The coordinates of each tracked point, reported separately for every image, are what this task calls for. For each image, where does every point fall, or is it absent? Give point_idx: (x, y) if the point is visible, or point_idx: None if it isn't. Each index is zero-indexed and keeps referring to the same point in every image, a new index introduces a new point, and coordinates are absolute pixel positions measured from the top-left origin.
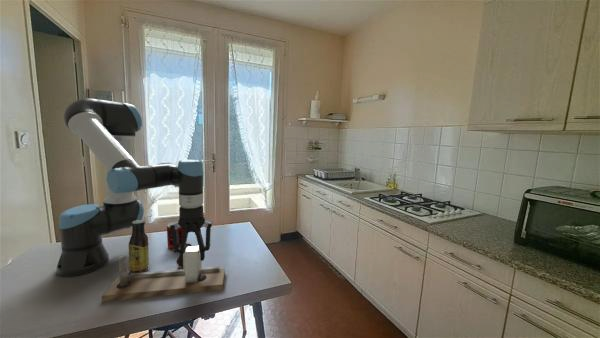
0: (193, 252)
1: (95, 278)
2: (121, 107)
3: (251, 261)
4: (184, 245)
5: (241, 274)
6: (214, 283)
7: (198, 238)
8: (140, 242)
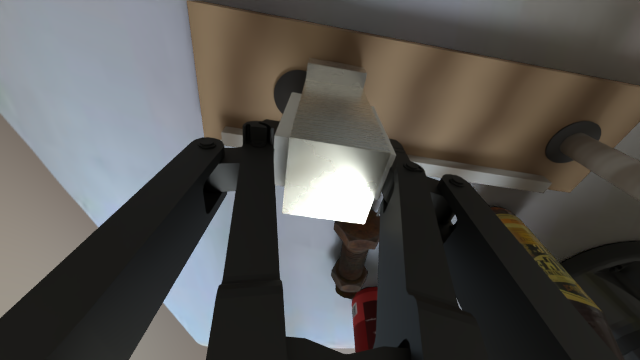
0: (322, 137)
1: (599, 218)
2: None
3: (125, 176)
4: (401, 201)
5: (141, 101)
6: (229, 25)
7: (256, 234)
8: None
